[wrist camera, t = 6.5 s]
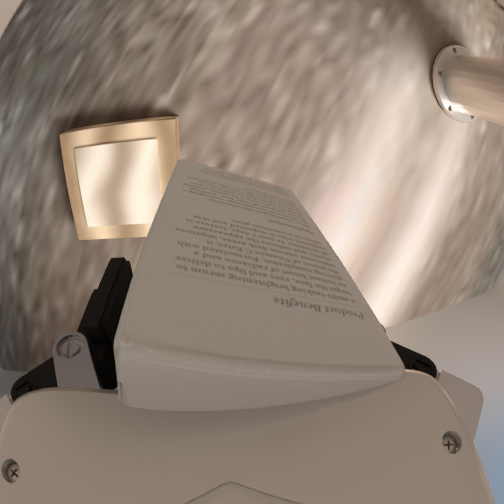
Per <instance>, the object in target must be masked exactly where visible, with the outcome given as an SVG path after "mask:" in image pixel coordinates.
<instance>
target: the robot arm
mask: <svg viewBox="0 0 504 504" xmlns="http://www.w3.org/2000/svg"><path fill="white" fill-rule="evenodd" d="M433 86H434V91H435V94H436V97H437V100H438V102H439V104H440V106H441V107H442V109H443V110H444V111H445V112H446V114H447V115H449V116H450V117H451V118H453V119H455V120H457V121H460V122H471V121H473V120H475V119H476V118H481V119H484V120H487V121H490V122H493V123H495V124H498V125H501V126H503V127H504V60H502V59H495V58H487V57H479V56H475V55H474V54H473V53H472V52H471V51H470V50H469V49H467V48H465V47H463V46H459V45H450V46H446V47H445V48H443V49H442V50H441V51H440V52H439V53H438V55H437V57H436V59H435V62H434V66H433ZM132 277H133V274H132V269H131V265H130V262H129V261H126V260H125V258H124V257H122V258H111V259H110V261H109V264H108V266H107V268H106V270H105V273H104V275H103V277H102V280H101V282H100V284H99V287H98V289H95V290H94V291H93V293H92V295H91V297H90V300H89V302H88V305H87V307H86V310H85V312H84V315H83V317H82V320H81V322H80V325H79V328H78V330H77V332H68V333H65V334H63V335H62V336H60V337H59V338H58V339H57V340H56V341H55V343H54V345H53V357H52V358H50V359H49V360H47V361H45V362H44V363H42V364H41V365H39V366H38V367H36V368H35V369H33V370H31V371H30V372H28V373H27V374H25V375H24V376H22V377H21V378H19V379H18V380H17V381H16V382H15V383H14V385H13V387H12V389H11V395H10V396H8V395H7V394H6V395H5V396H3V397H2V398H1V399H0V504H495V501H494V498H493V495H492V491H491V488H490V485H489V482H488V479H487V476H486V473H485V471H484V468H483V465H482V462H481V460H480V457H479V455H478V453H477V450H476V448H475V446H474V444H473V440H474V436H475V433H476V429H477V426H478V421H479V418H480V414H481V410H482V405H483V395H482V392H481V391H480V390H479V388H477V387H476V386H474V385H472V384H470V383H468V382H466V381H464V380H462V379H460V378H458V377H456V376H454V375H452V374H449V373H447V372H445V371H443V370H441V371H440V372H438V371H437V369H436V366H435V364H434V363H433V362H432V361H431V360H430V359H429V358H427V357H426V356H424V355H421V354H419V353H416V352H414V351H412V350H410V349H408V348H405V347H403V346H401V345H399V344H396V343H394V342H392V341H391V343H392V345H393V346H394V348H395V350H396V352H397V353H398V355H399V357H400V359H401V360H402V362H403V364H404V367H405V371H406V372H405V374H404V376H403V378H401V379H400V380H397V381H394V382H391V383H387V384H384V385H380V386H377V387H373V388H369V389H365V390H361V391H357V392H352V393H348V394H343V395H338V396H333V397H328V398H323V399H317V400H312V401H306V402H299V403H293V404H286V405H278V406H270V407H262V408H252V409H239V410H222V411H166V410H150V409H142V408H135V407H130V406H128V405H126V404H124V403H121V402H119V394H118V390H114V389H115V388H117V386H118V382H117V374H116V363H115V356H114V339H115V335H116V332H117V328H118V325H119V321H120V317H121V314H122V310H123V307H124V303H125V300H126V297H127V293H128V290H129V287H130V284H131V280H132ZM381 326H382V327H383V325H382V324H381ZM383 329H384V331H385V333H386V330H385V328H384V327H383Z"/></svg>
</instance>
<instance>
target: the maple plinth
mask: <svg viewBox="0 0 504 504" xmlns="http://www.w3.org/2000/svg"><path fill="white" fill-rule="evenodd" d="M60 142H61V150H62V157H63V164H64V171H65V177H66V182H67V188H68V193H69V198H70V203H71V208H72V212H73V217H74V221H75V225H76V229H77V233H78V237H79V240H89V239H108V238H128V237H147V235H148V232H149V229H150V227H151V225H152V222H153V219H154V217H155V214H156V212H157V209H158V207H159V204H160V201H161V199H162V197H163V194H164V192H165V190H166V187H167V185H168V182H169V180H170V177H171V175H172V173H173V170H174V168H175V166H176V164H177V161H178V160H180V147H179V116H168V117H156V118H145V119H135V120H127V121H119V122H111V123H105V124H98V125H92V126H86V127H80V128H75V129H71V130H69V131H66V132H64V133H62V134H60Z"/></svg>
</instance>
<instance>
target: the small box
mask: <svg viewBox="0 0 504 504" xmlns="http://www.w3.org/2000/svg"><path fill="white" fill-rule="evenodd" d="M114 356H115V363H116V374H117V382H118V394H119V402H121V403H124V404H126V405H128V406H130V407H135V408H142V409H150V410H166V411H222V410H239V409H252V408H262V407H270V406H278V405H286V404H293V403H299V402H306V401H312V400H317V399H323V398H328V397H333V396H338V395H343V394H348V393H352V392H357V391H361V390H365V389H369V388H373V387H377V386H380V385H384V384H387V383H391V382H394V381H397V380H400V379H401V378H403V376H404V374H405V372H406V371H405V367H404V364H403V362H402V360H401V359H400V357H399V355H398V353H397V352H396V350H395V348H394V346H393V345H392V343H391V341H390V340H389V338H388V336H387V334H386V333H385V331H384V329H383V327H382V326H381V324H380V323H379V321H378V319H377V318H376V316H375V314H374V313H373V311H372V310H371V308H370V306H369V305H368V303H367V301H366V300H365V298H364V297H363V295H362V294H361V292H360V290H359V289H358V287H357V286H356V284H355V283H354V281H353V279H352V278H351V276H350V275H349V273H348V272H347V270H346V268H345V267H344V265H343V264H342V262H341V261H340V259H339V258H338V256H337V255H336V253H335V252H334V250H333V249H332V247H331V246H330V244H329V243H328V241H327V240H326V239H325V237H324V236H323V234H322V233H321V231H320V230H319V228H318V227H317V225H316V224H315V223H314V221H313V220H312V218H311V217H310V216H309V214H308V213H307V211H306V210H305V208H304V207H303V206H302V204H301V203H300V202H299V200H298V199H297V197H296V196H295V195H294V193H293V192H292V191H291V190H289V189H286V188H283V187H280V186H277V185H274V184H271V183H267V182H264V181H261V180H258V179H254V178H251V177H247V176H244V175H240V174H237V173H233V172H229V171H226V170H222V169H218V168H214V167H210V166H207V165H203V164H199V163H194V162H190V161H186V160H178V161H177V164H176V166H175V168H174V170H173V173H172V175H171V177H170V180H169V182H168V185H167V187H166V190H165V192H164V194H163V197H162V199H161V201H160V204H159V207H158V209H157V212H156V214H155V217H154V219H153V222H152V225H151V227H150V229H149V232H148V235H147V237H146V240H145V243H144V246H143V249H142V251H141V254H140V257H139V260H138V263H137V266H136V268H135V271H134V274H133V277H132V280H131V284H130V287H129V290H128V293H127V297H126V300H125V303H124V307H123V310H122V314H121V317H120V321H119V325H118V328H117V332H116V335H115V339H114Z"/></svg>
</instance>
